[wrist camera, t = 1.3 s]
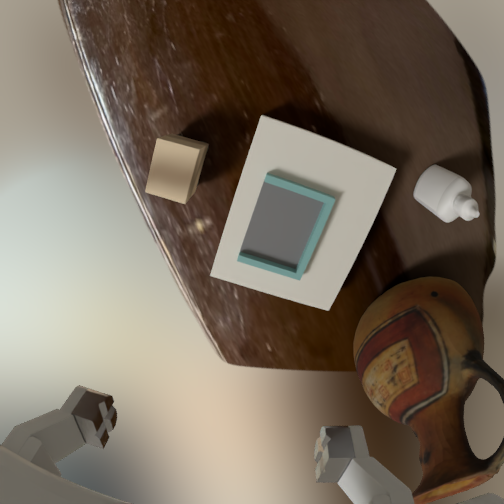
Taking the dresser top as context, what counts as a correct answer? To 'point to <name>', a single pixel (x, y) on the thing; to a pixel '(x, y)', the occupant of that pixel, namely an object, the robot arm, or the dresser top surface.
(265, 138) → the dock
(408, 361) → the ceramic pitcher
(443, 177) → the eye dropper bottle
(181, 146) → the beige wheeled cart
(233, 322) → the dresser top surface
